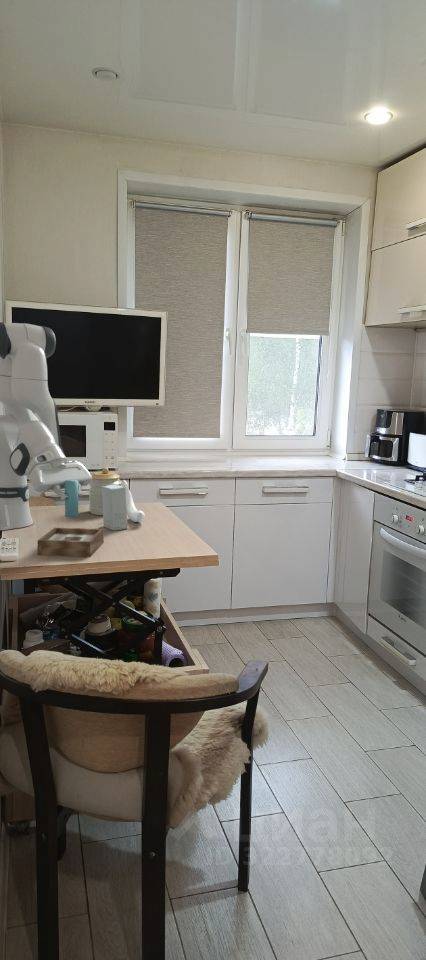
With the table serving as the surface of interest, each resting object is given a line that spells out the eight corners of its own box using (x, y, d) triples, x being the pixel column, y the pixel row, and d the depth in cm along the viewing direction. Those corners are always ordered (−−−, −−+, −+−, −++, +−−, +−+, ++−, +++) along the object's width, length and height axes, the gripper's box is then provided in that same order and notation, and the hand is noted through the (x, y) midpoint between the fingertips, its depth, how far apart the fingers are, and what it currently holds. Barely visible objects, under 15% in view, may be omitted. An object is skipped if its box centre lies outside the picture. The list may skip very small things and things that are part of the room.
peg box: (37, 554, 192) (37, 540, 192) (55, 541, 208) (54, 527, 207) (90, 556, 191) (90, 542, 191) (103, 542, 207) (103, 529, 206)
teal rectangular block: (63, 517, 195) (62, 481, 194) (67, 514, 199) (66, 479, 198) (76, 517, 195) (76, 481, 193) (80, 515, 199) (79, 480, 197)
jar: (85, 510, 254) (84, 465, 251) (117, 507, 259) (117, 464, 256) (93, 517, 243) (92, 470, 240) (126, 514, 248) (126, 469, 245)
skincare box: (127, 529, 225) (127, 487, 222) (111, 531, 222) (111, 488, 219) (117, 524, 232) (116, 483, 229) (101, 526, 229) (101, 485, 226)
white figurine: (138, 527, 227) (137, 487, 224) (118, 517, 243) (118, 478, 241) (150, 526, 229) (150, 486, 227) (130, 515, 246) (130, 477, 243)
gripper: (74, 466, 210) (94, 499, 206) (20, 472, 195) (40, 508, 190) (83, 453, 207) (103, 487, 202) (29, 458, 191) (50, 495, 186)
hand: (72, 497), depth 196 cm, fingers closed on teal rectangular block, 4 cm apart
